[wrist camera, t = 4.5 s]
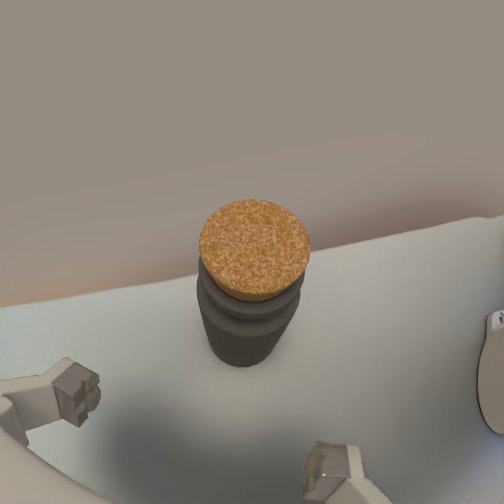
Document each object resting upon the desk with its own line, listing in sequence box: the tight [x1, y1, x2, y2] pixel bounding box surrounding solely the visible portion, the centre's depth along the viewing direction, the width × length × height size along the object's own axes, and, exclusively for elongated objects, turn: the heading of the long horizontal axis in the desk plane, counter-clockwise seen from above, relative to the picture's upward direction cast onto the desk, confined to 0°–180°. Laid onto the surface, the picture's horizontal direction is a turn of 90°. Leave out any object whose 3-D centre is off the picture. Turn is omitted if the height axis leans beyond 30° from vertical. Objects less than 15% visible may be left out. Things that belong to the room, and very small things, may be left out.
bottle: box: [197, 199, 310, 367], centre depth 19 cm, size 6×6×15 cm
